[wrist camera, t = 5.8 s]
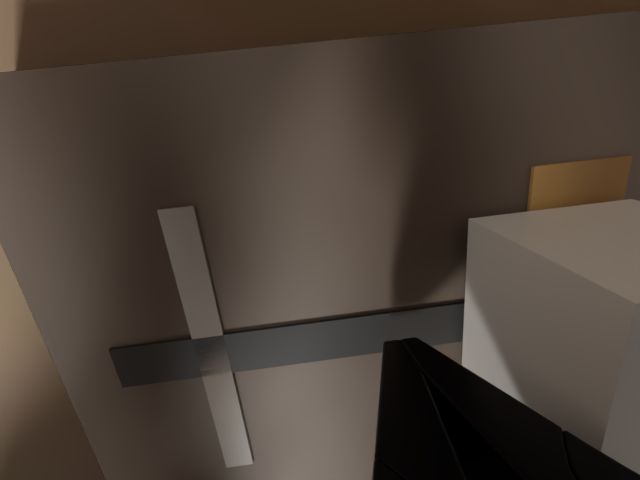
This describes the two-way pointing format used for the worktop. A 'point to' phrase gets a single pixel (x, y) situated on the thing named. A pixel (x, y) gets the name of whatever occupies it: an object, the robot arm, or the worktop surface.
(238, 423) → the fader console
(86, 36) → the worktop surface
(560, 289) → the fader knob
